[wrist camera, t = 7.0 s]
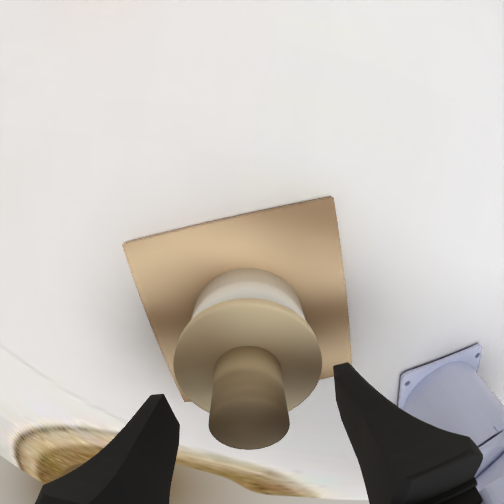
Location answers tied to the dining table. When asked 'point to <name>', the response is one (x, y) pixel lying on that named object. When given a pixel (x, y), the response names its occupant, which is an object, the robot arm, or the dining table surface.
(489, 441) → the robot arm
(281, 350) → the lid
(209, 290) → the jar
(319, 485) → the dining table surface
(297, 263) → the square wooden coaster
